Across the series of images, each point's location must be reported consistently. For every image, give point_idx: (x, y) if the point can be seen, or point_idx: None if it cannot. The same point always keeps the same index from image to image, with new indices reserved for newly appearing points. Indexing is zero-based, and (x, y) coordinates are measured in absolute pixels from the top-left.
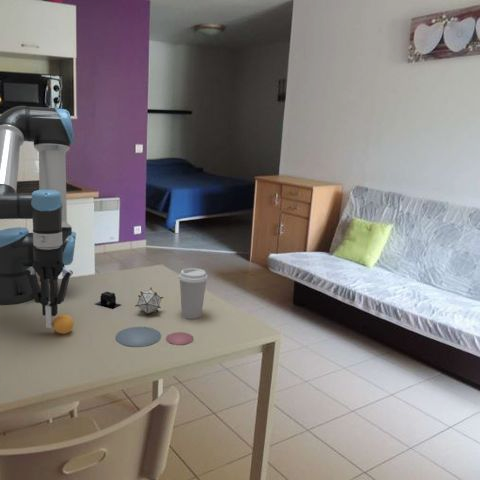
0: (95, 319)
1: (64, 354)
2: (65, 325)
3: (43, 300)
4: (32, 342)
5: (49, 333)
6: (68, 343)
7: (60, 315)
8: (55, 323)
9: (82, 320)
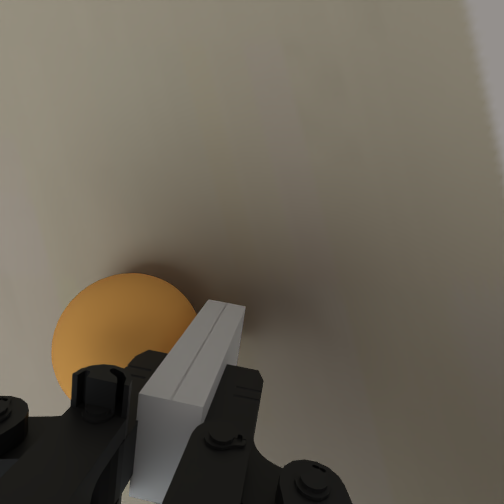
0: None
1: (71, 6)
2: (91, 287)
3: (209, 471)
4: (314, 183)
5: None
6: (90, 168)
7: None
8: (164, 309)
9: None
